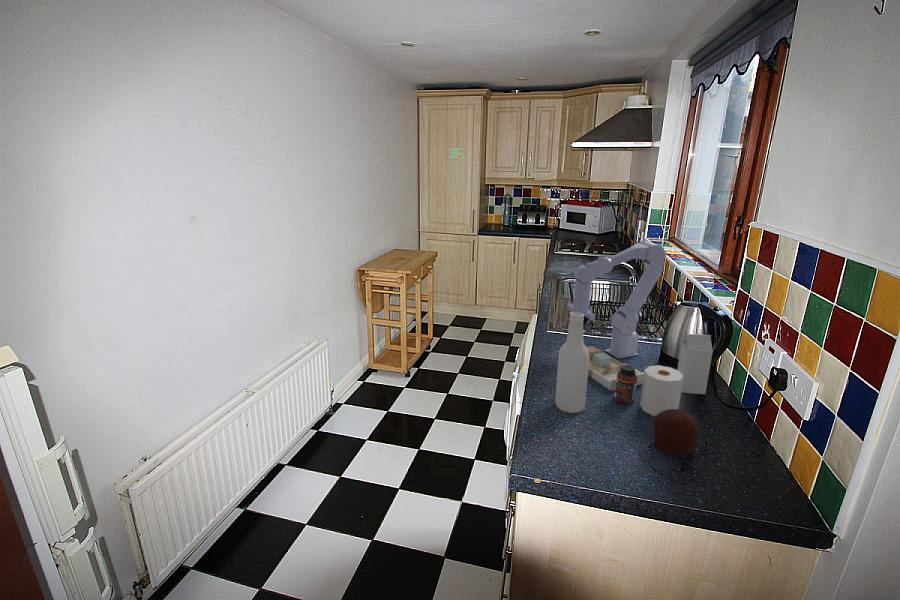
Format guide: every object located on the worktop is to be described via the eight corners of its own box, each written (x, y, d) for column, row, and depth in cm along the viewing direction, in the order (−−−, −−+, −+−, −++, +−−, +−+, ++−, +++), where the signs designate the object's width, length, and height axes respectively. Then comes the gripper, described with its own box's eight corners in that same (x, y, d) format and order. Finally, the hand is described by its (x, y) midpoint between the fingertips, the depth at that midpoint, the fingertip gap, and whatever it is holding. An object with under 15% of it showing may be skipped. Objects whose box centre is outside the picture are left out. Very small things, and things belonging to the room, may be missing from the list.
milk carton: (705, 394, 143) (715, 339, 138) (681, 392, 145) (689, 338, 139) (698, 384, 150) (707, 331, 144) (675, 382, 151) (683, 330, 146)
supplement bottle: (612, 402, 140) (616, 369, 136) (615, 393, 145) (619, 361, 141) (633, 406, 137) (637, 373, 134) (635, 397, 142) (639, 365, 139)
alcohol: (571, 396, 143) (578, 307, 134) (591, 409, 135) (599, 316, 127) (549, 403, 140) (554, 311, 131) (567, 416, 132) (575, 320, 123)
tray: (624, 371, 160) (625, 361, 159) (645, 383, 151) (646, 372, 150) (591, 378, 155) (592, 367, 154) (611, 391, 146) (612, 380, 145)
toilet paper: (683, 409, 135) (689, 373, 132) (667, 422, 129) (673, 384, 125) (650, 396, 143) (655, 362, 139) (634, 408, 136) (638, 372, 132)
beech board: (598, 356, 172) (599, 350, 172) (624, 371, 160) (625, 364, 159) (568, 361, 168) (568, 355, 167) (591, 378, 155) (592, 371, 154)
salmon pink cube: (592, 353, 168) (592, 346, 167) (599, 358, 164) (600, 350, 163) (582, 355, 167) (582, 348, 166) (589, 360, 163) (590, 352, 162)
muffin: (657, 429, 125) (661, 397, 122) (701, 444, 119) (707, 411, 116) (643, 450, 117) (648, 416, 114) (690, 467, 110) (696, 432, 107)
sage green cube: (602, 360, 163) (603, 352, 162) (610, 365, 159) (611, 357, 158) (592, 361, 162) (593, 354, 161) (600, 367, 157) (601, 359, 157)
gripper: (561, 294, 172) (559, 327, 176) (584, 304, 159) (582, 340, 163) (577, 292, 174) (574, 324, 178) (601, 302, 161) (598, 337, 165)
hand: (579, 332), depth 171 cm, fingers closed
